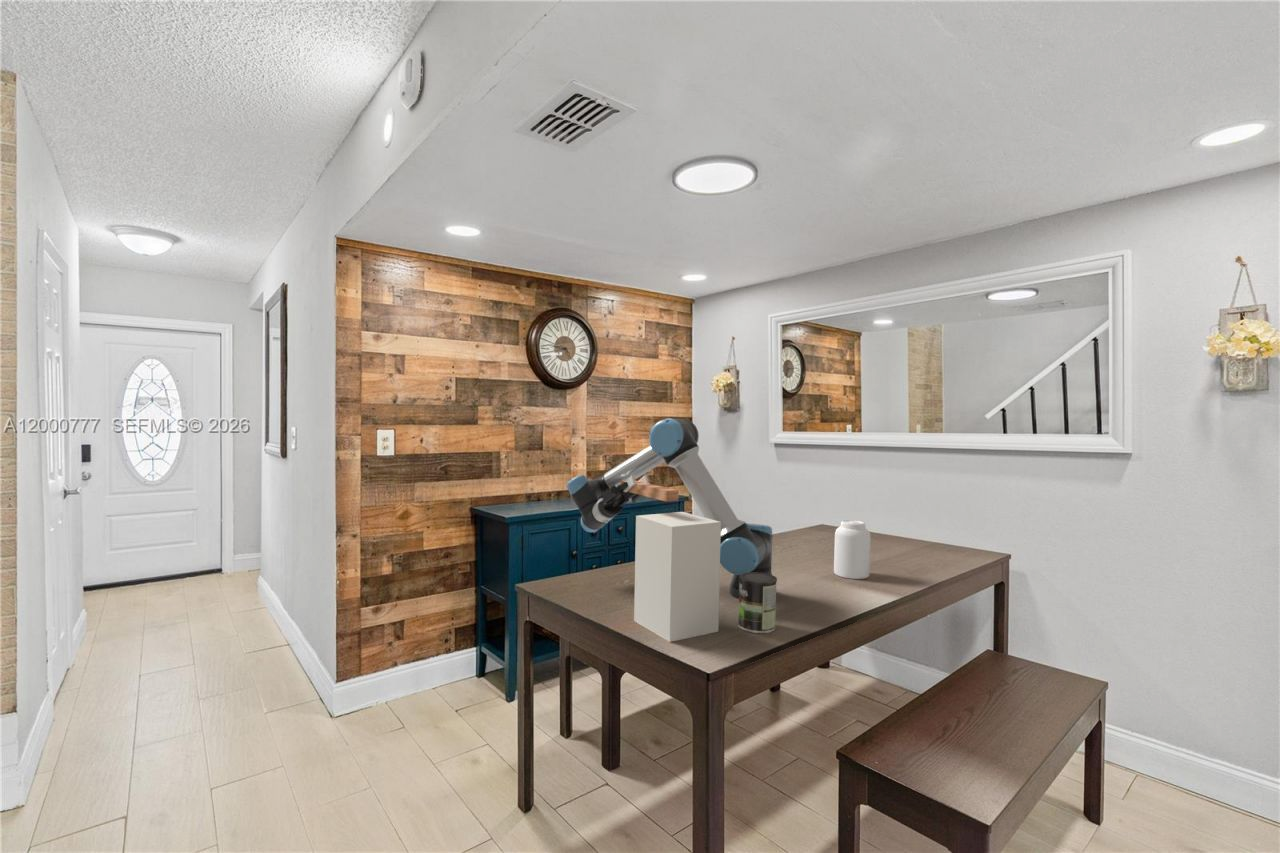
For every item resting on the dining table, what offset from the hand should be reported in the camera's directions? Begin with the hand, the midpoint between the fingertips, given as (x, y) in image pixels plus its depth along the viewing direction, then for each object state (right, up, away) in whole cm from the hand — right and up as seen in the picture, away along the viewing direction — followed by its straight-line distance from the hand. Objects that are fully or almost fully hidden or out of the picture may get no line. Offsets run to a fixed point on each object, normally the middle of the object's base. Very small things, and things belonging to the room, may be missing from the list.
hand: (640, 479), depth 188 cm
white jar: (+78, -39, +41) cm, 97 cm away
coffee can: (+33, -40, -15) cm, 54 cm away
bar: (+2, -4, -4) cm, 6 cm away
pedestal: (+10, -39, -16) cm, 44 cm away
